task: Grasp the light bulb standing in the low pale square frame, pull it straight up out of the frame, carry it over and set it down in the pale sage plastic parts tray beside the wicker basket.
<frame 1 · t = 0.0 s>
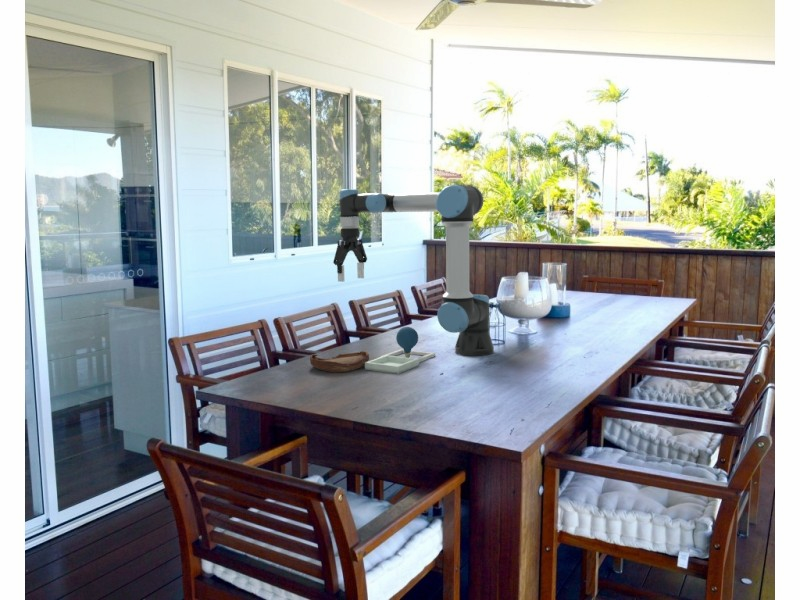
hand: (351, 279, 285), 28 cm above the table, fingers open, 13 cm apart
parts tray: (392, 367, 250), on the table
pale square frame: (407, 357, 266), on the table
light bulb: (407, 358, 266), resting in pale square frame
basket: (341, 367, 253), on the table
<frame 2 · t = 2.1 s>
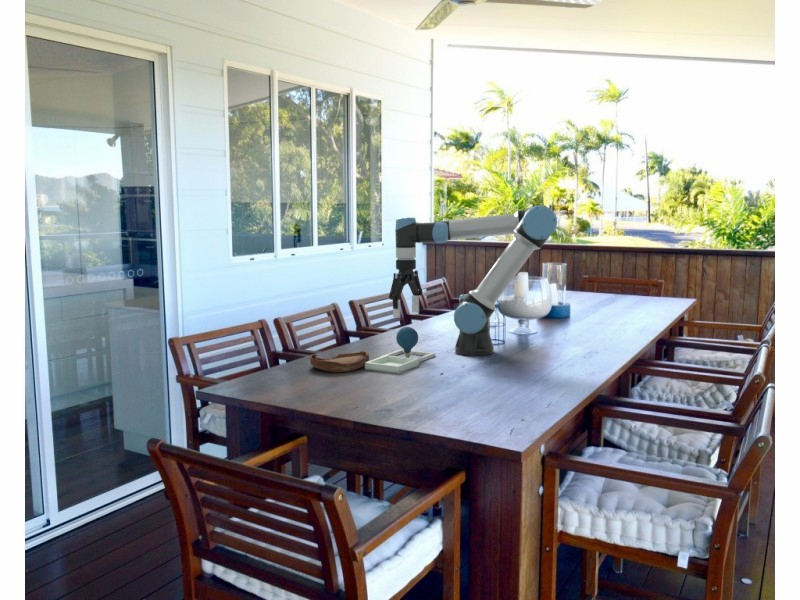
hand: (406, 314, 264), 17 cm above the table, fingers open, 13 cm apart
nothing on the table moved.
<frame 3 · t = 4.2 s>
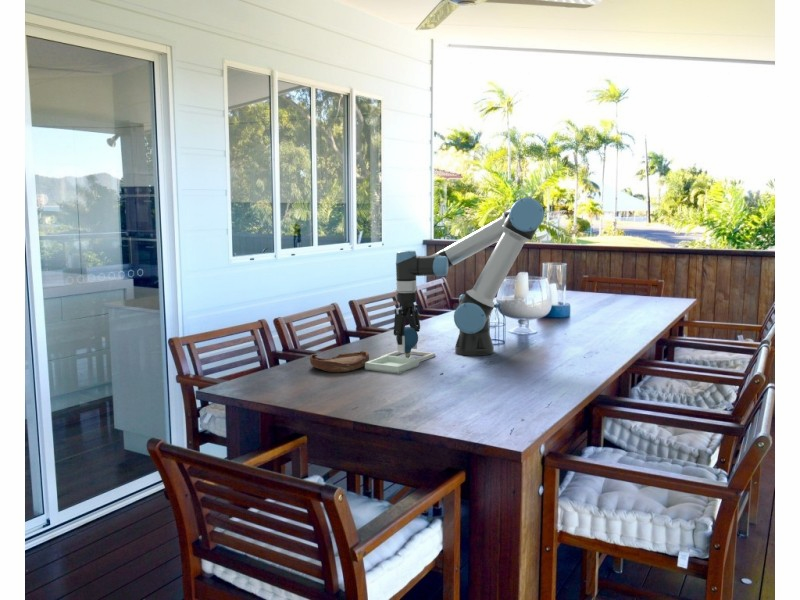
hand: (407, 350, 265), 3 cm above the table, fingers closed on light bulb, 8 cm apart
light bulb: (407, 358, 266), resting in pale square frame, touching gripper
everything else where it was.
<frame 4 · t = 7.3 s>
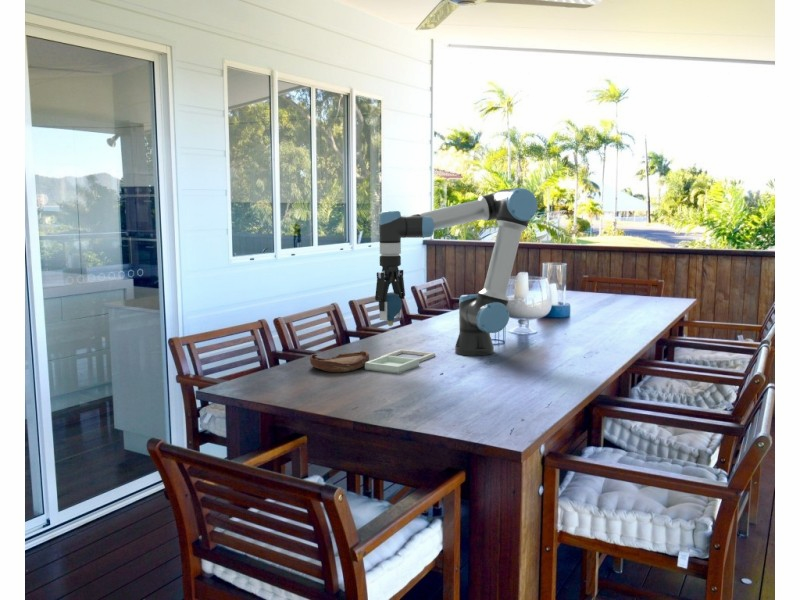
hand: (390, 318, 249), 18 cm above the table, fingers closed on light bulb, 8 cm apart
light bulb: (390, 326, 249), point 15 cm above the table, touching gripper
everything else where it was.
when the fingers open (5 cm above the table, at t = 10.6 s): light bulb drops 1 cm, resting on parts tray.
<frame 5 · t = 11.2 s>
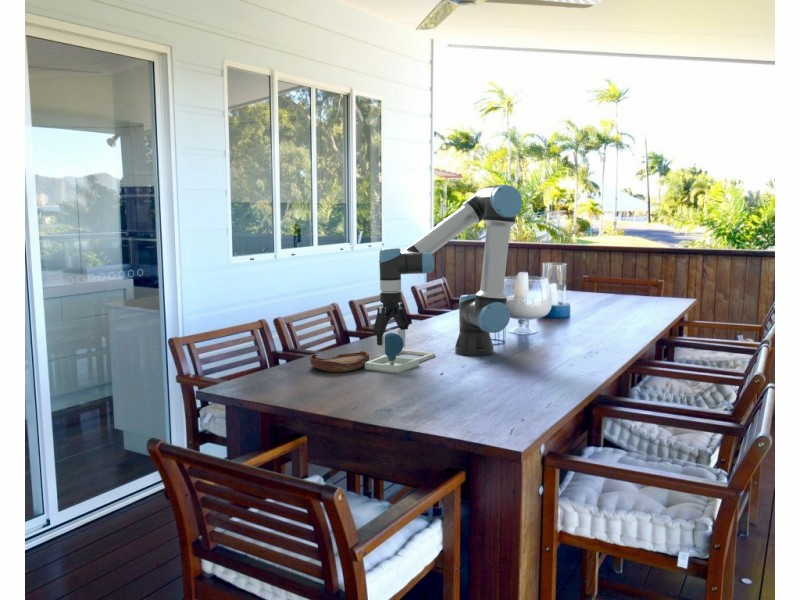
hand: (391, 350, 249), 6 cm above the table, fingers open, 13 cm apart
light bulb: (392, 366, 250), resting on parts tray
everything else where it was.
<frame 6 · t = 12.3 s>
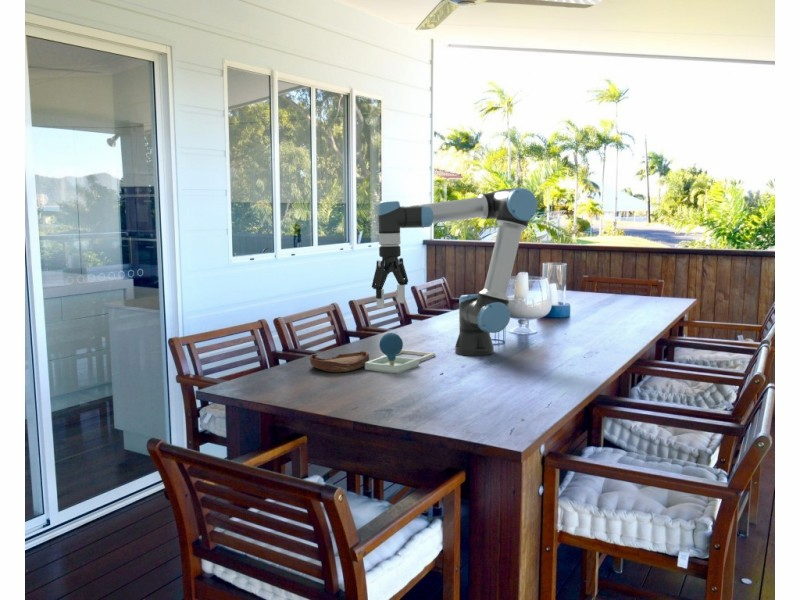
hand: (391, 305, 247), 23 cm above the table, fingers open, 13 cm apart
nothing on the table moved.
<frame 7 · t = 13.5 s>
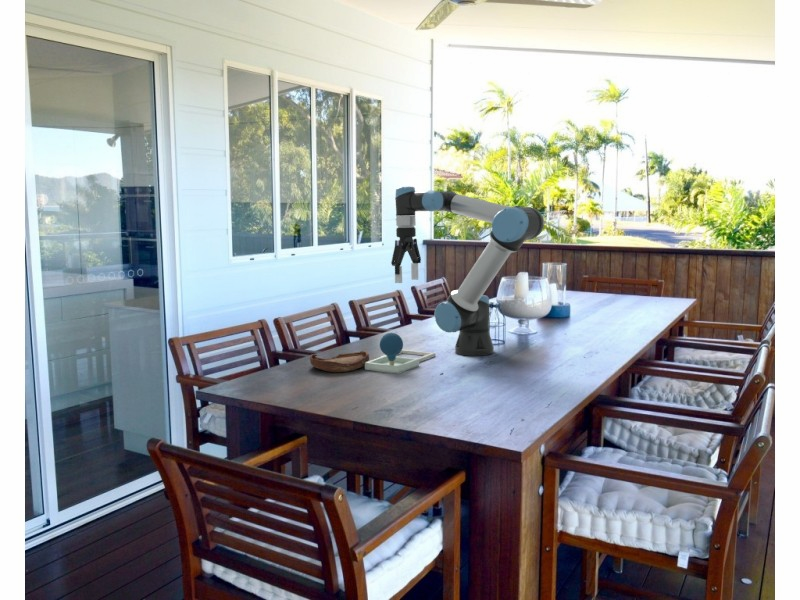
hand: (407, 281, 274), 28 cm above the table, fingers open, 13 cm apart
nothing on the table moved.
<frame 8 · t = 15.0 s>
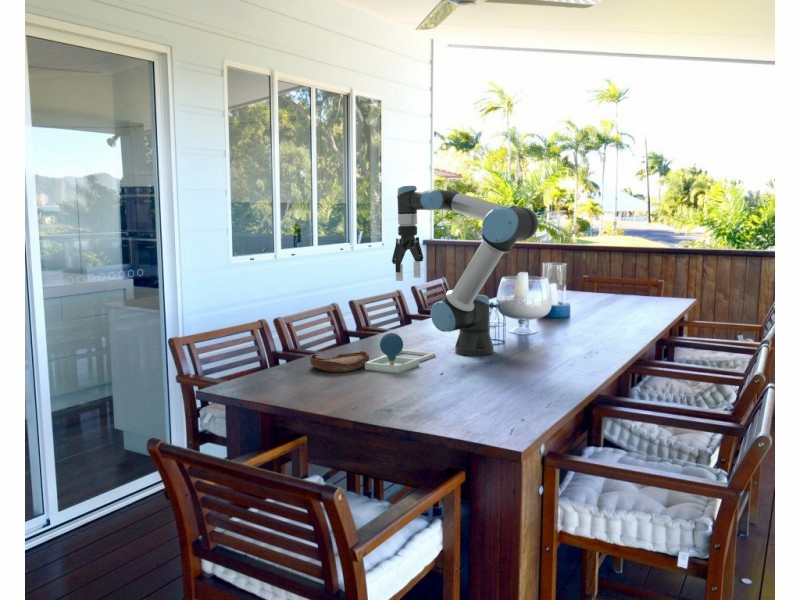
hand: (408, 279, 277), 29 cm above the table, fingers open, 13 cm apart
nothing on the table moved.
at the end: light bulb inside the target area on the parts tray (0.1 cm from its centre), point 0.4 cm above the parts tray's base; the gripper is holding nothing; light bulb moved 17.0 cm from its start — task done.
